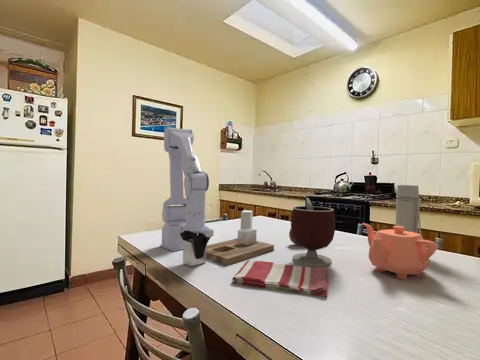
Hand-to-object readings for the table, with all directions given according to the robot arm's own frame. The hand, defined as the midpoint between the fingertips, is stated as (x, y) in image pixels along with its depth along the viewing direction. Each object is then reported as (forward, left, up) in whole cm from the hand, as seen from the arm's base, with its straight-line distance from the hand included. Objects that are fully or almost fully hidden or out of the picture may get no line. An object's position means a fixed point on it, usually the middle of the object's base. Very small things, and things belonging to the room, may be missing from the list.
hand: (194, 256), depth 81 cm
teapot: (+45, +38, -2) cm, 59 cm away
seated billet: (0, +24, -2) cm, 24 cm away
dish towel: (+25, +10, -3) cm, 27 cm away
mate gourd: (+23, +30, -2) cm, 38 cm away
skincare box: (-11, +36, -2) cm, 38 cm away
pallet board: (0, +18, -2) cm, 18 cm away
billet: (0, 0, -2) cm, 2 cm away
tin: (+12, +47, -2) cm, 49 cm away
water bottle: (+44, +64, -2) cm, 78 cm away
